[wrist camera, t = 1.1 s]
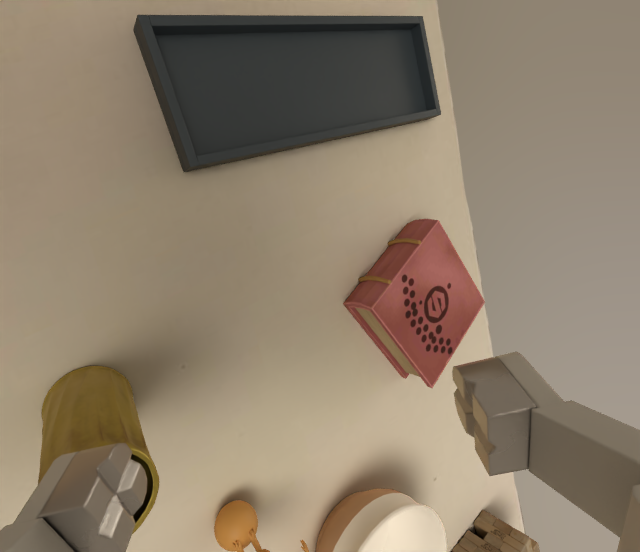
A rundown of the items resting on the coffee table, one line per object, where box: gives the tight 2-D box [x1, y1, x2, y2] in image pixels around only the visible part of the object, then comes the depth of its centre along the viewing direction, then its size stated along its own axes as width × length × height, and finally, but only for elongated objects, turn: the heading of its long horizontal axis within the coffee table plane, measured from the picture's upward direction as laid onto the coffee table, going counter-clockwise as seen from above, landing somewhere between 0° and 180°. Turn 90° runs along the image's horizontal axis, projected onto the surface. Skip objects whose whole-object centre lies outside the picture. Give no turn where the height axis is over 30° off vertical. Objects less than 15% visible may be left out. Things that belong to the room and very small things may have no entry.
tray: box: [134, 15, 441, 172], centre depth 39 cm, size 34×12×2 cm, turn 109°
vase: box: [38, 366, 159, 534], centre depth 24 cm, size 6×6×14 cm
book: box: [343, 219, 485, 388], centre depth 47 cm, size 14×15×5 cm
